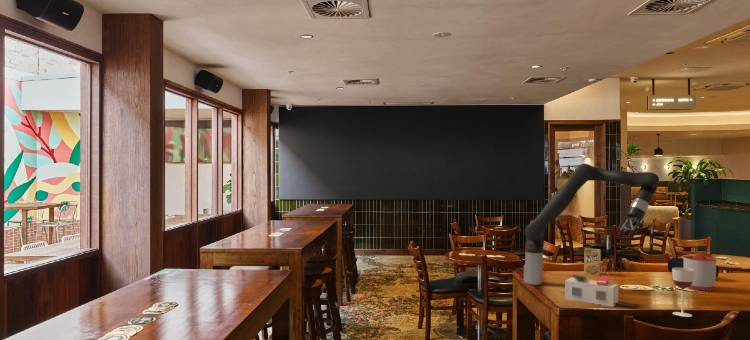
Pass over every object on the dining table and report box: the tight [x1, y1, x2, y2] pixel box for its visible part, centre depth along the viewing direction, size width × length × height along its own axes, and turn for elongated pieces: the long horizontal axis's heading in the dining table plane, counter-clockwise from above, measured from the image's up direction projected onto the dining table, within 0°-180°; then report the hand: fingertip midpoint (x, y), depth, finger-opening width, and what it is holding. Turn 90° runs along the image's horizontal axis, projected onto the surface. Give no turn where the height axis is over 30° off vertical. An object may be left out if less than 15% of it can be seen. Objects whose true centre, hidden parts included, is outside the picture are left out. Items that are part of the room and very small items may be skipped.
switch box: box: [564, 276, 635, 309], centre depth 250 cm, size 30×10×9 cm, turn 53°
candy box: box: [583, 247, 602, 276], centre depth 319 cm, size 9×4×15 cm, turn 59°
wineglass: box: [671, 267, 694, 318], centre depth 231 cm, size 8×9×20 cm
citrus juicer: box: [682, 251, 718, 292], centre depth 283 cm, size 16×17×20 cm
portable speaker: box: [667, 257, 720, 279], centre depth 316 cm, size 26×10×10 cm, turn 34°
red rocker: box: [596, 274, 611, 286], centre depth 249 cm, size 4×9×2 cm, turn 143°
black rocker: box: [572, 274, 588, 281], centre depth 255 cm, size 4×9×2 cm, turn 143°
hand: (624, 238), depth 257 cm, fingers open, 8 cm apart
